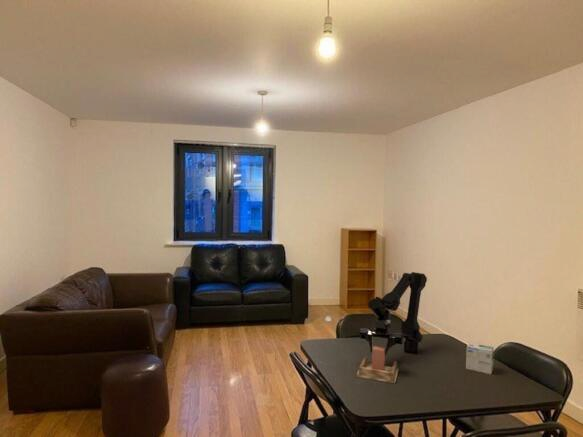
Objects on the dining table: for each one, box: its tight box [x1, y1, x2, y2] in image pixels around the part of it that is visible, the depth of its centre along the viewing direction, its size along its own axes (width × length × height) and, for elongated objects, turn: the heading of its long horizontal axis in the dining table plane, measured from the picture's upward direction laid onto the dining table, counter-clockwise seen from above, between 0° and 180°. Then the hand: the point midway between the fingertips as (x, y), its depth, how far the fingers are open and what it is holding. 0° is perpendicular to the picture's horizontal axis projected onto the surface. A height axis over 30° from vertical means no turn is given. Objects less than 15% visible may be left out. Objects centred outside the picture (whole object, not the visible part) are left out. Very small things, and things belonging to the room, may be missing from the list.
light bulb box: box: [465, 342, 495, 375], centre depth 181 cm, size 11×7×11 cm, turn 58°
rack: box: [356, 355, 399, 384], centre depth 173 cm, size 16×14×4 cm
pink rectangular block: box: [371, 345, 386, 371], centre depth 173 cm, size 5×4×10 cm
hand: (378, 353), depth 172 cm, fingers open, 6 cm apart
